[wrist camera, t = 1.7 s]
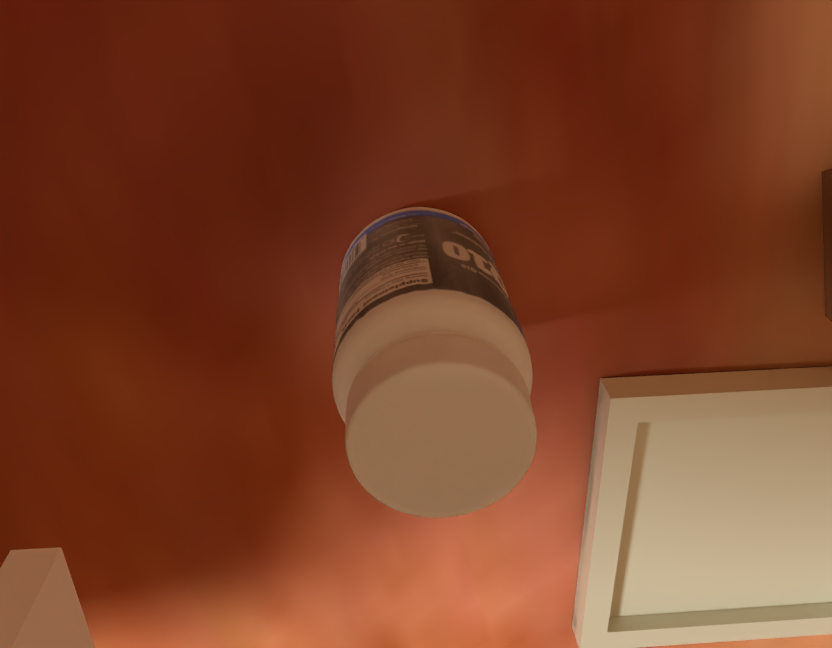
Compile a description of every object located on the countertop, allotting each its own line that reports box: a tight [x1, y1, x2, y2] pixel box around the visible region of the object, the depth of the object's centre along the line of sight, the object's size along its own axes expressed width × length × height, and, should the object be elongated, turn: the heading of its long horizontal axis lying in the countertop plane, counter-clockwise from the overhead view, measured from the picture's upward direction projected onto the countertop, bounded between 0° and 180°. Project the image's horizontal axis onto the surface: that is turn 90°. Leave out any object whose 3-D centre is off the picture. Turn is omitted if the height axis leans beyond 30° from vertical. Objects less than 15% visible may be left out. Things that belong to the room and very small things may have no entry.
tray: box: [572, 366, 832, 648], centre depth 27 cm, size 12×12×1 cm
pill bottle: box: [332, 207, 537, 518], centre depth 19 cm, size 5×5×8 cm
